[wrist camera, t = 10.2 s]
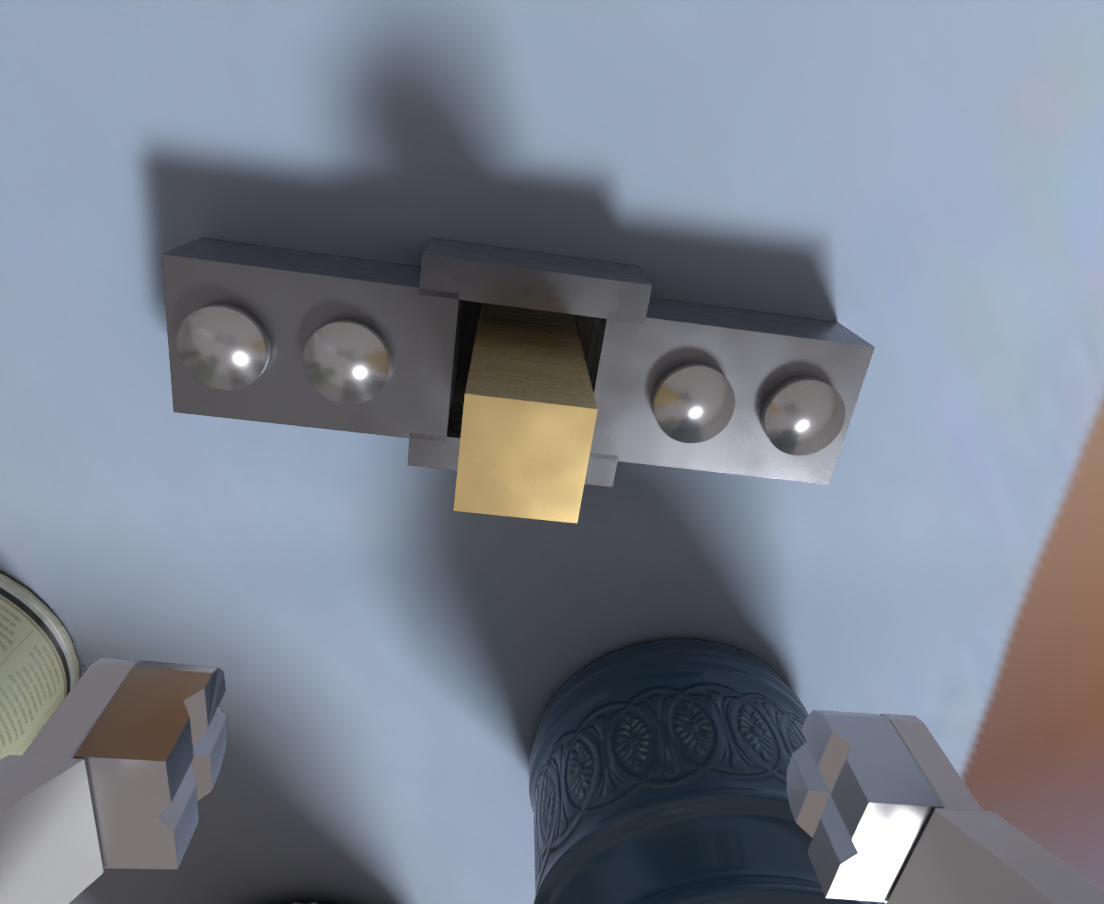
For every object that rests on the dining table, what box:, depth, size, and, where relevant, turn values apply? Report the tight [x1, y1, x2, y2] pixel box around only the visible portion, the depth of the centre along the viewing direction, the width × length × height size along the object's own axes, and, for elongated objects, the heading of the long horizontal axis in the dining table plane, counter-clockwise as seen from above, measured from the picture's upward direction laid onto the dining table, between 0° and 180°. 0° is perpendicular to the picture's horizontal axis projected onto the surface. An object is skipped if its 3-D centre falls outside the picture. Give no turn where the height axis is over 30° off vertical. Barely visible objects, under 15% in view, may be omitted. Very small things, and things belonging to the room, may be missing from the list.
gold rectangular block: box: [453, 303, 598, 523], centre depth 22 cm, size 3×3×9 cm
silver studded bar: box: [162, 238, 875, 487], centre depth 25 cm, size 7×22×4 cm, turn 82°
